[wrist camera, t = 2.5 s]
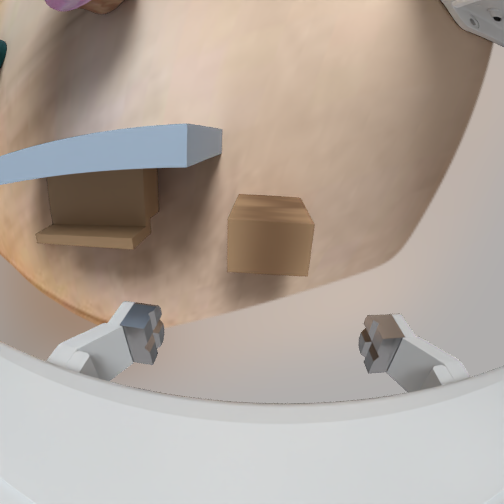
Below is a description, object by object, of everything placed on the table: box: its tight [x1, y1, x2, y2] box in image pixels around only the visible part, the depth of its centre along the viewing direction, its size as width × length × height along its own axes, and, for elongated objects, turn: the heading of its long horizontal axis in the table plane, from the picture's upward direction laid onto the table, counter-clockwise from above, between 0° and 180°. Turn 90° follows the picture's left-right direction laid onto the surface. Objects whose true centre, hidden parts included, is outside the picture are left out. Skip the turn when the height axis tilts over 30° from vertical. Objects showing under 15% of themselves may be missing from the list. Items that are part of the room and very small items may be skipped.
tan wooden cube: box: [227, 194, 315, 276], centre depth 20 cm, size 5×4×7 cm
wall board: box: [0, 124, 222, 250], centre depth 17 cm, size 20×8×10 cm, turn 88°
